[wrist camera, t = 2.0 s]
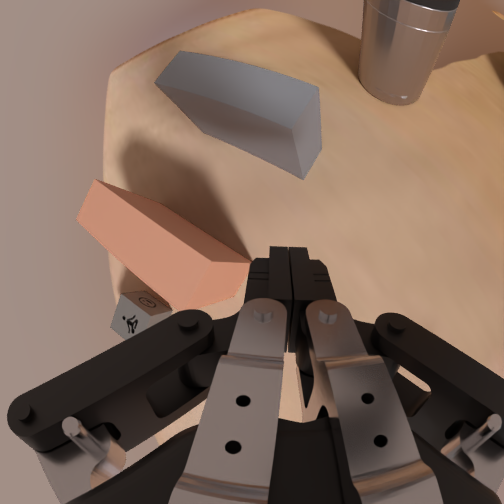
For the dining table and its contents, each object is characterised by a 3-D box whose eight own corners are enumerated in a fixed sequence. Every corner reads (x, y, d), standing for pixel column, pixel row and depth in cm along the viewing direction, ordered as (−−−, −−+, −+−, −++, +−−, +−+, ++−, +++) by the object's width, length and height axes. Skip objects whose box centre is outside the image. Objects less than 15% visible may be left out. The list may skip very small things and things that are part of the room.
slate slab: (203, 132, 34) (154, 83, 22) (221, 106, 33) (180, 50, 21) (303, 180, 30) (291, 129, 18) (321, 149, 30) (318, 87, 18)
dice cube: (160, 341, 34) (138, 350, 29) (133, 321, 35) (110, 327, 30) (172, 310, 34) (150, 316, 29) (144, 290, 35) (121, 293, 30)
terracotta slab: (145, 232, 35) (76, 219, 23) (160, 203, 35) (94, 178, 23) (234, 296, 32) (182, 313, 19) (254, 263, 31) (211, 261, 19)
